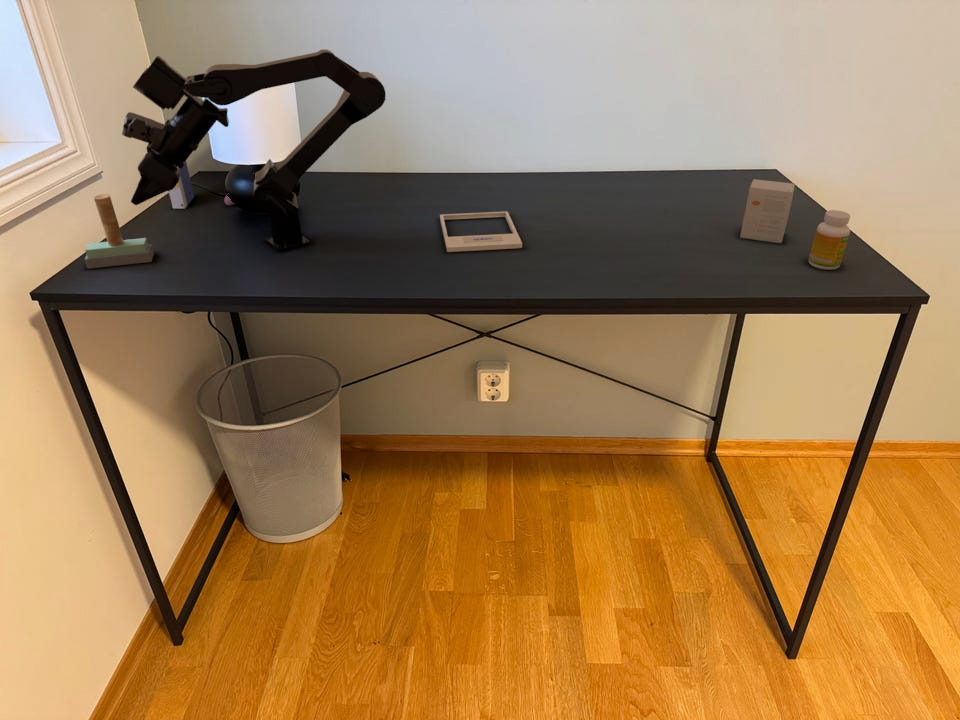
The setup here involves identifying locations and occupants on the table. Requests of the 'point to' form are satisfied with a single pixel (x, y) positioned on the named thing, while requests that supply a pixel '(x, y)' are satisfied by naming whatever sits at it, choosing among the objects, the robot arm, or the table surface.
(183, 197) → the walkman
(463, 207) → the table surface
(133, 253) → the wiper
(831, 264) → the supplement bottle
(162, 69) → the robot arm
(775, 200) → the small box
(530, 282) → the table surface
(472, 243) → the photo frame
